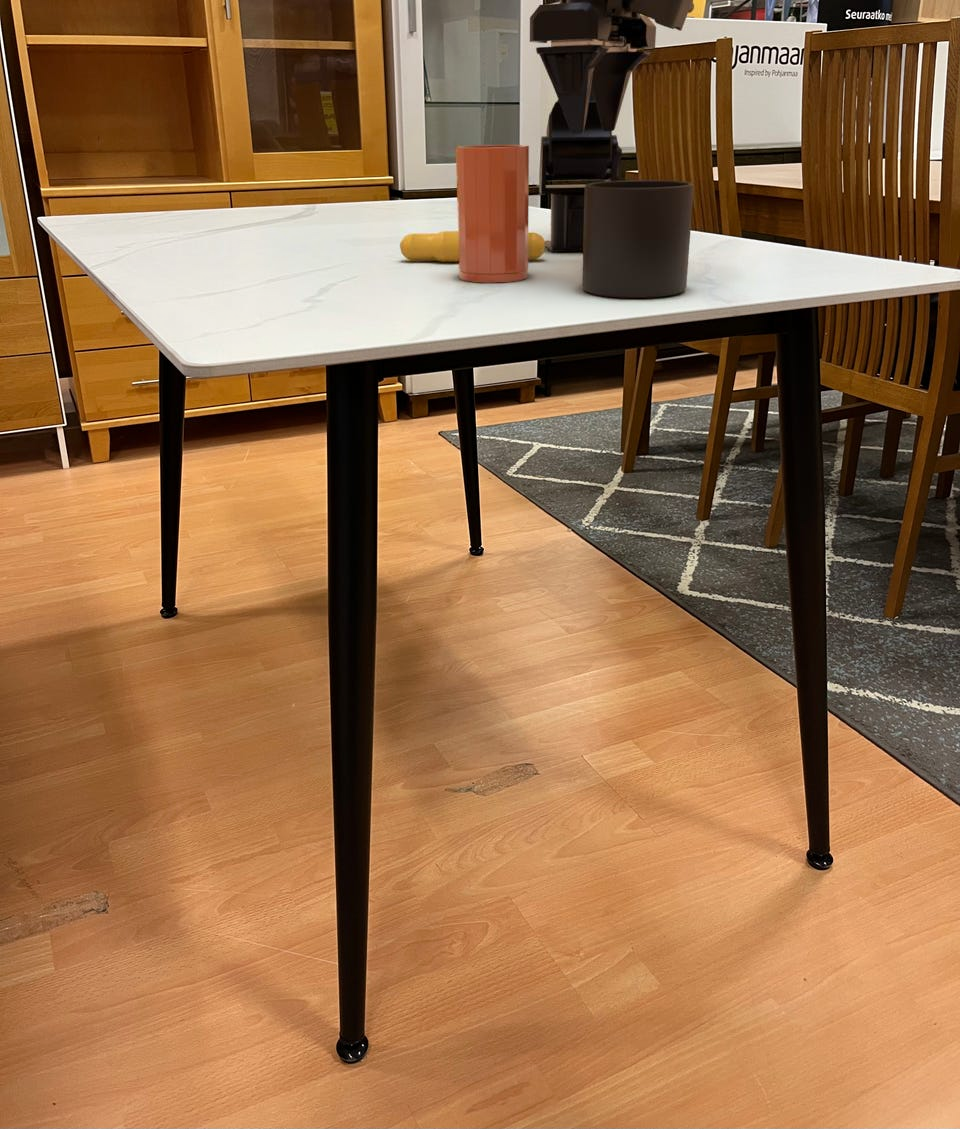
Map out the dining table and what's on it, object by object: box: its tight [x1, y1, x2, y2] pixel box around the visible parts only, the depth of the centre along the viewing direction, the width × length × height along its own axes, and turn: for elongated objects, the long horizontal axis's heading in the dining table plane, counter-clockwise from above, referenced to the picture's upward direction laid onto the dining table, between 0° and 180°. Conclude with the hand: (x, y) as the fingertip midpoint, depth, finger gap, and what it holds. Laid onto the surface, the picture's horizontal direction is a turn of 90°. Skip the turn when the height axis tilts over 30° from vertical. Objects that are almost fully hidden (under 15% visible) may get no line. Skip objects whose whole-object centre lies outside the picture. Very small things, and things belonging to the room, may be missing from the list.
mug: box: [581, 179, 695, 299], centre depth 87 cm, size 9×12×9 cm
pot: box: [455, 144, 530, 284], centre depth 93 cm, size 7×7×12 cm
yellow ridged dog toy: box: [399, 230, 546, 263], centre depth 105 cm, size 16×4×3 cm, turn 86°
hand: (593, 132), depth 92 cm, fingers open, 9 cm apart
